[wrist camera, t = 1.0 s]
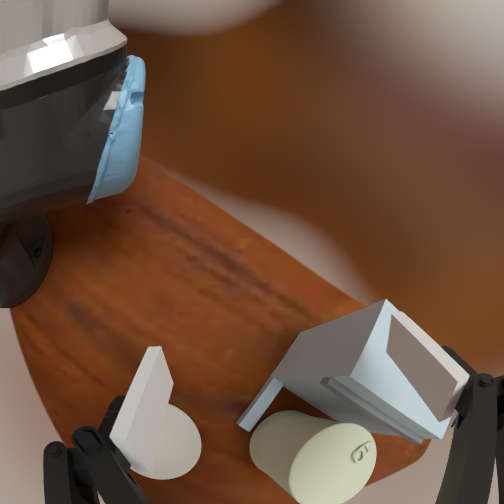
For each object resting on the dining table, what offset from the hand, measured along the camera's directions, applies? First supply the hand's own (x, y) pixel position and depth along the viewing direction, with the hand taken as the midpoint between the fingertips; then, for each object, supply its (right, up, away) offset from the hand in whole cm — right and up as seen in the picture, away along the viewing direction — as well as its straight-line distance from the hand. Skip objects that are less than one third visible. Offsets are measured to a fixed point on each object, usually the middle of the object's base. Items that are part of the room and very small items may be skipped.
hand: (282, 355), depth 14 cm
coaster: (-12, -15, +9) cm, 22 cm away
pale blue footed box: (+6, -14, +16) cm, 22 cm away
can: (+2, -18, +13) cm, 22 cm away
